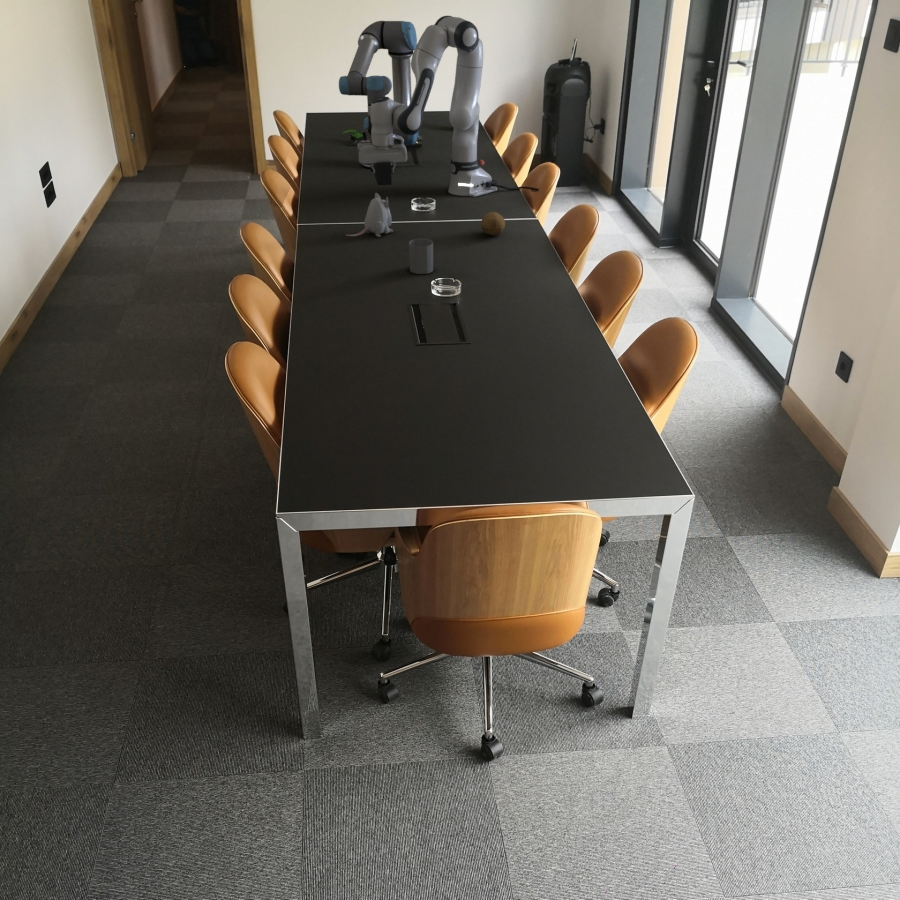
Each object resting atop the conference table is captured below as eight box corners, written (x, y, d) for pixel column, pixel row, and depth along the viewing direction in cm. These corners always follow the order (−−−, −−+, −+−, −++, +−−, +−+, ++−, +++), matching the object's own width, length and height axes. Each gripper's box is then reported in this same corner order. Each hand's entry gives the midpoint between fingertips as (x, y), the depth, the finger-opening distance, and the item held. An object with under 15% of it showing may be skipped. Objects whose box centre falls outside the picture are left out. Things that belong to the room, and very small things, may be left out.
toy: (398, 232, 342) (397, 194, 334) (353, 246, 328) (351, 207, 320) (383, 227, 348) (381, 189, 340) (338, 241, 333) (335, 202, 325)
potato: (502, 228, 347) (503, 208, 342) (507, 239, 335) (507, 219, 331) (478, 228, 346) (478, 208, 342) (481, 240, 334) (482, 219, 330)
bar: (371, 170, 383) (370, 149, 378) (384, 169, 384) (384, 148, 379) (378, 185, 363) (377, 163, 359) (391, 184, 364) (390, 162, 359)
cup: (409, 265, 311) (408, 238, 306) (432, 265, 312) (431, 238, 307) (410, 274, 304) (409, 246, 299) (433, 273, 305) (433, 246, 299)
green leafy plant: (396, 126, 467) (340, 124, 465) (396, 141, 460) (339, 139, 458) (396, 136, 472) (341, 134, 470) (396, 151, 465) (340, 149, 463)
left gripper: (355, 118, 363) (358, 174, 376) (400, 116, 366) (401, 172, 379) (354, 114, 370) (357, 169, 382) (397, 112, 373) (399, 167, 385)
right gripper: (357, 142, 353) (359, 176, 361) (407, 140, 356) (408, 174, 364) (356, 138, 358) (358, 172, 366) (405, 136, 361) (406, 170, 369)
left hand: (379, 170), depth 381 cm, fingers closed on bar, 6 cm apart
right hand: (383, 173), depth 365 cm, fingers closed on bar, 6 cm apart
